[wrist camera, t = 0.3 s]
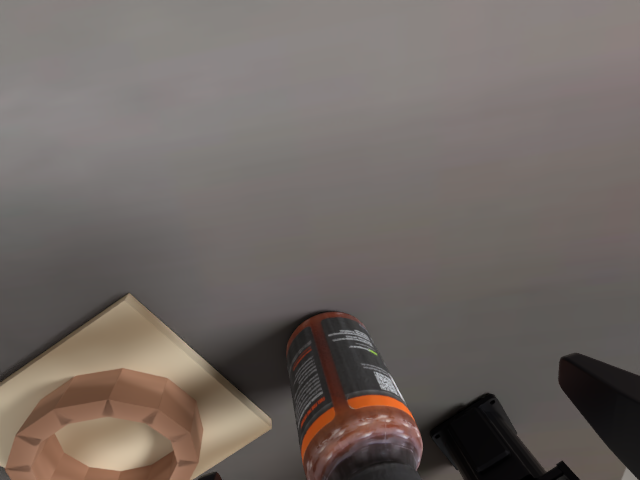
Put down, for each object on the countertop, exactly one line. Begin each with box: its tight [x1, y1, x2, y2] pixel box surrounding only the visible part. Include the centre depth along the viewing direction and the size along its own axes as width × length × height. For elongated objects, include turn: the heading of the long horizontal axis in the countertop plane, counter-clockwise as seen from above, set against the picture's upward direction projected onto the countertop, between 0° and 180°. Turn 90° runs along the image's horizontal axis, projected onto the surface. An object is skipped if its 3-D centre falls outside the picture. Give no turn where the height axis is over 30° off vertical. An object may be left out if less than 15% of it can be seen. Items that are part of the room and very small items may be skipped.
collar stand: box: [0, 293, 272, 480], centre depth 22 cm, size 14×14×3 cm
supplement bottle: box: [286, 312, 423, 480], centre depth 19 cm, size 6×6×11 cm
